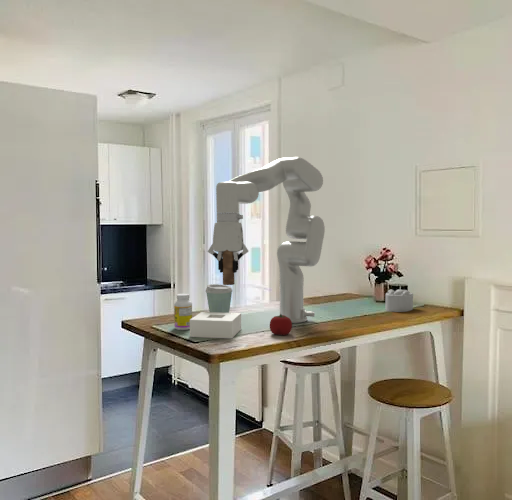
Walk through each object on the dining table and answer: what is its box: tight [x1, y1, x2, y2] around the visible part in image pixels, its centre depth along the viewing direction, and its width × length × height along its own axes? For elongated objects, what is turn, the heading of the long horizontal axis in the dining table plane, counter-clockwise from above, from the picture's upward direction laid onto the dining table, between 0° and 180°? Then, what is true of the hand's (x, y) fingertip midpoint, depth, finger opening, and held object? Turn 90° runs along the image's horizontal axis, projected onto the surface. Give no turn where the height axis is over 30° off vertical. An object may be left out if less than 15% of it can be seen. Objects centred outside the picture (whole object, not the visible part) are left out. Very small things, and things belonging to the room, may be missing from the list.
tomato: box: [269, 313, 293, 336], centre depth 185 cm, size 8×8×7 cm
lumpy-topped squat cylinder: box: [384, 289, 414, 313], centre depth 233 cm, size 10×13×9 cm
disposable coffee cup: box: [205, 283, 233, 313], centre depth 204 cm, size 11×11×15 cm
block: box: [189, 311, 242, 339], centre depth 188 cm, size 15×15×6 cm
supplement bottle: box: [173, 293, 193, 331], centre depth 195 cm, size 7×7×13 cm
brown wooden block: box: [222, 250, 236, 286], centre depth 179 cm, size 4×4×12 cm
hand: (228, 271), depth 179 cm, fingers closed on brown wooden block, 4 cm apart
